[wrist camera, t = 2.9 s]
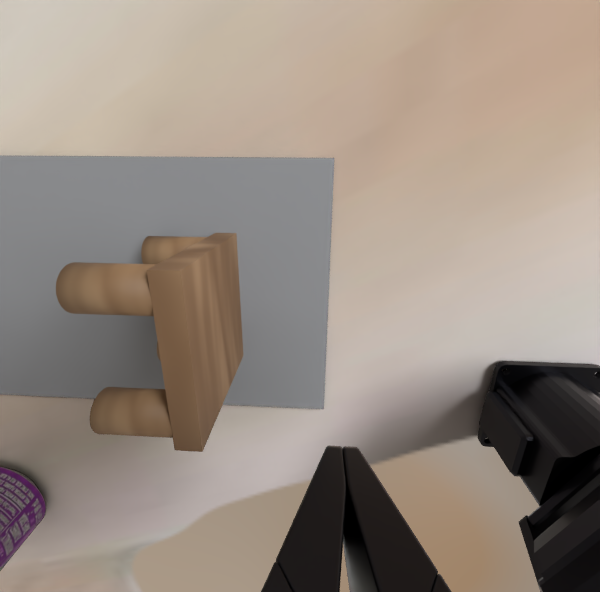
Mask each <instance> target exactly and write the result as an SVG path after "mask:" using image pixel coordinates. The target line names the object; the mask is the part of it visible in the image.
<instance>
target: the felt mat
mask: <svg viewBox="0 0 600 592" xmlns="http://www.w3.org/2000/svg"><path fill="white" fill-rule="evenodd" d="M333 177H334V158H260V157H122V156H0V394H3V395H25V396H47V397H68V398H90V399H95V398H96V397H97V395H98V394H99V393H100V392H101V391H102V390H103V389H104V388H106V387H125V388H148V389H165V385H164V378H163V372H162V365H161V361H160V360H159V359H158V356H157V341H158V340H157V334H156V327H155V321H154V316H129V315H98V314H72V313H69V312H67V311H65V310H64V309H63V308H62V307H61V305H60V304H59V302H58V299H57V295H56V281H57V278H58V275H59V273H60V271H61V270H62V269H63V268H64V267H65V266H66V265H67V264H69V263H73V262H81V263H122V264H143V262H142V256H141V249H142V244H143V241H144V239H145V238H146V237H148V236H176V237H209V236H211V235H212V234H214V233H237V251H238V268H239V286H240V304H241V321H242V339H243V358H242V360H241V362H240V365H239V367H238V369H237V372H236V374H235V376H234V379H233V381H232V383H231V386H230V388H229V390H228V393H227V395H226V397H225V400H224V402H223V405H243V406H264V407H286V408H308V409H324V391H325V367H326V343H327V320H328V296H329V272H330V248H331V224H332V201H333Z"/></svg>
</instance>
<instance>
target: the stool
mask: <svg viewBox="0 0 600 592" xmlns="http://www.w3.org/2000/svg"><path fill="white" fill-rule="evenodd" d="M141 256H142V262H143V264H122V263H81V262H73V263H69V264H67V265H66V266H65V267H64V268H63V269H62V270H61V271H60V273H59V275H58V278H57V281H56V295H57V299H58V302H59V304H60V305H61V307H62V308H63V309H64V310H65V311H67V312H69V313H72V314H98V315H129V316H154V321H155V327H156V334H157V340H158V341H157V356H158V359H159V360H160V361H161V365H162V372H163V378H164V385H165V389H148V388H125V387H106V388H104V389H103V390H102V391H101V392H100V393H99V394H98V395H97V397H96V398H95V400H94V402H93V405H92V408H91V412H90V425H91V428H92V430H93V431H94V432H95V433H97V434H112V435H131V436H151V437H170V438H173V442H174V448H175V450H181V451H199V452H202V451H203V449H204V447H205V444H206V442H207V440H208V437H209V435H210V433H211V430H212V428H213V426H214V423H215V421H216V419H217V416H218V414H219V412H220V409H221V407H222V405H223V402H224V400H225V397H226V395H227V393H228V390H229V388H230V386H231V383H232V381H233V379H234V376H235V374H236V372H237V369H238V367H239V365H240V362H241V360H242V358H243V339H242V321H241V304H240V286H239V268H238V251H237V233H214V234H212V235H211V236H209V237H176V236H148V237H146V238H145V239H144V241H143V244H142V249H141Z"/></svg>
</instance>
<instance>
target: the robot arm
mask: <svg viewBox="0 0 600 592" xmlns="http://www.w3.org/2000/svg"><path fill="white" fill-rule="evenodd" d="M505 368H507V369H506V370H505V371H502V370H503V369H505ZM596 372H597V373H596ZM595 373H596V374H595ZM479 424H480V429H479V433H478V439H479V441H480V443H481V444H482V445H483V446H488V447H494V448H495V449H496V451H497V452H498V454H499V455H500V457H501V459H502V460H503V461H504V463H505V465H506V466H507V468H508V469H509V471H510V472H511V473H512V474H513V475H514V476H520V477H521V479H522V480H523V482H524V483H525V485H526V486H527V488H528V489H529V491H530V492H531V494H532V495H533V496H534V498H535V500H536V501H537V503H538V504H539V506H540V507H539V508H538V509H536V510H535V511H534V512H533V513H532V514H531V515H530V516H525V517H524V518H523V519H521V520H520V521H519V525H520V528H521V531H522V535H523V537H524V541H525V544H526V547H527V550H528V554H529V557H530V560H531V563H532V566H533V569H534V573H535V576H536V579H537V582H538V585H539V588H540V592H600V366H599V365H593V364H566V363H540V362H513V361H502V362H499V363H498V364H497V365H496V366H495V369H494V373H493V377H492V381H491V385H490V389H489V392H488V393H487V394H486V398H485V402H484V406H483V410H482V414H481V418H480V422H479ZM486 438H487V439H486ZM343 544H344V553H345V560H346V567H347V575H348V582H349V589H350V592H451V590H450V589H449V587H448V586H447V584H446V583H445V581H444V579H443V578H442V576H441V575H440V574H438V571H437V569H436V567H435V566H434V564H433V563H432V561H431V560H430V558H429V556H428V555H427V553H426V552H425V550H424V549H423V547H422V546H421V544H420V543H419V541H418V539H417V538H416V536H415V535H414V533H413V532H412V530H411V529H410V527H409V526H408V524H407V522H406V521H405V519H404V518H403V516H402V515H401V513H400V512H399V510H398V509H397V507H396V505H395V504H394V503H393V501H392V499H391V498H390V496H389V495H388V493H387V492H386V490H385V488H384V487H383V485H382V484H381V482H380V481H379V479H378V478H377V476H376V475H375V473H374V471H373V470H372V468H371V467H370V465H369V464H368V462H367V461H366V459H365V457H364V456H363V454H362V453H361V451H360V450H359V449H358V448H357V447H343V449H342V447H340V446H327V447H326V449H325V451H324V453H323V456H322V458H321V460H320V462H319V465H318V467H317V469H316V471H315V473H314V476H313V478H312V480H311V482H310V485H309V487H308V489H307V491H306V494H305V496H304V498H303V500H302V503H301V505H300V507H299V509H298V511H297V514H296V516H295V518H294V520H293V523H292V525H291V527H290V529H289V532H288V534H287V536H286V538H285V541H284V543H283V545H282V548H281V549H280V552H279V554H278V556H277V558H276V562H275V563H274V565H273V567H272V569H271V571H270V573H269V576H268V578H267V580H266V582H265V584H264V587H263V589H262V591H261V592H339V590H340V589H339V588H340V576H341V561H342V548H343ZM437 574H438V575H437Z"/></svg>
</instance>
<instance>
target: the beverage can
mask: <svg viewBox="0 0 600 592" xmlns="http://www.w3.org/2000/svg"><path fill="white" fill-rule="evenodd" d="M45 512H46V505H45V501H44V498H43V496H42V494H41V493H40V491H39V490H38V488H37V486H36V485H35V484H34V482H33V481H31V480H30V479H29V478H28V477H27V476H25V475H23V474H22V473H20V472H18V471H15V470H12V469H8V468H3V467H0V571H1V569H2V568H3V567H4V566H5V564H6V563H7V562H8V561H9V559H10V558H11V557H12V556H13V555H14V553H15V552H16V551H17V550H18V548H19V547H20V546H21V545H22V543H23V542H24V541H25V540H26V539H27V537H28V536H29V535H30V534H31V532H32V531H33V530H34V529H35V528H36V526H37V525H38V524H39V523H40V521H41V520H42V519H43V517H44V515H45Z"/></svg>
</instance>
